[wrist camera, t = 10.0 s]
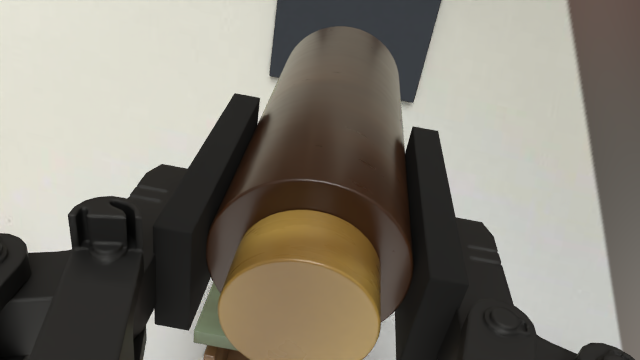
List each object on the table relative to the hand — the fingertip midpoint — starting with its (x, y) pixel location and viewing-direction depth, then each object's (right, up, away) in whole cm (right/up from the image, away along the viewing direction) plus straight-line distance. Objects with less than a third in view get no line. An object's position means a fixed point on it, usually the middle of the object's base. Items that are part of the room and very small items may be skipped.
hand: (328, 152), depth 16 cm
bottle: (+1, +3, +5) cm, 6 cm away
